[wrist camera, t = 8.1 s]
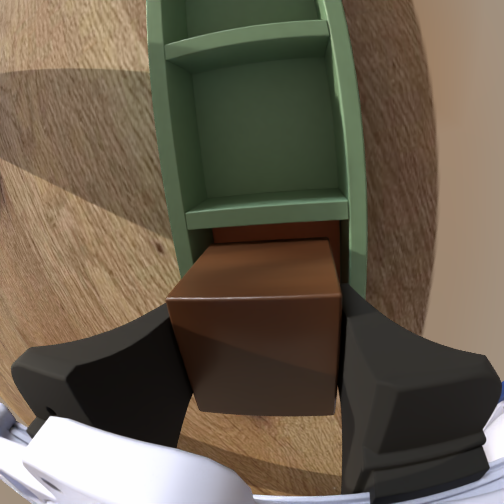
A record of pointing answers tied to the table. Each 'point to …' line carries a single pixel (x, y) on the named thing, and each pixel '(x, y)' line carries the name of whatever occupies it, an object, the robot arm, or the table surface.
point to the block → (261, 327)
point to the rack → (259, 126)
